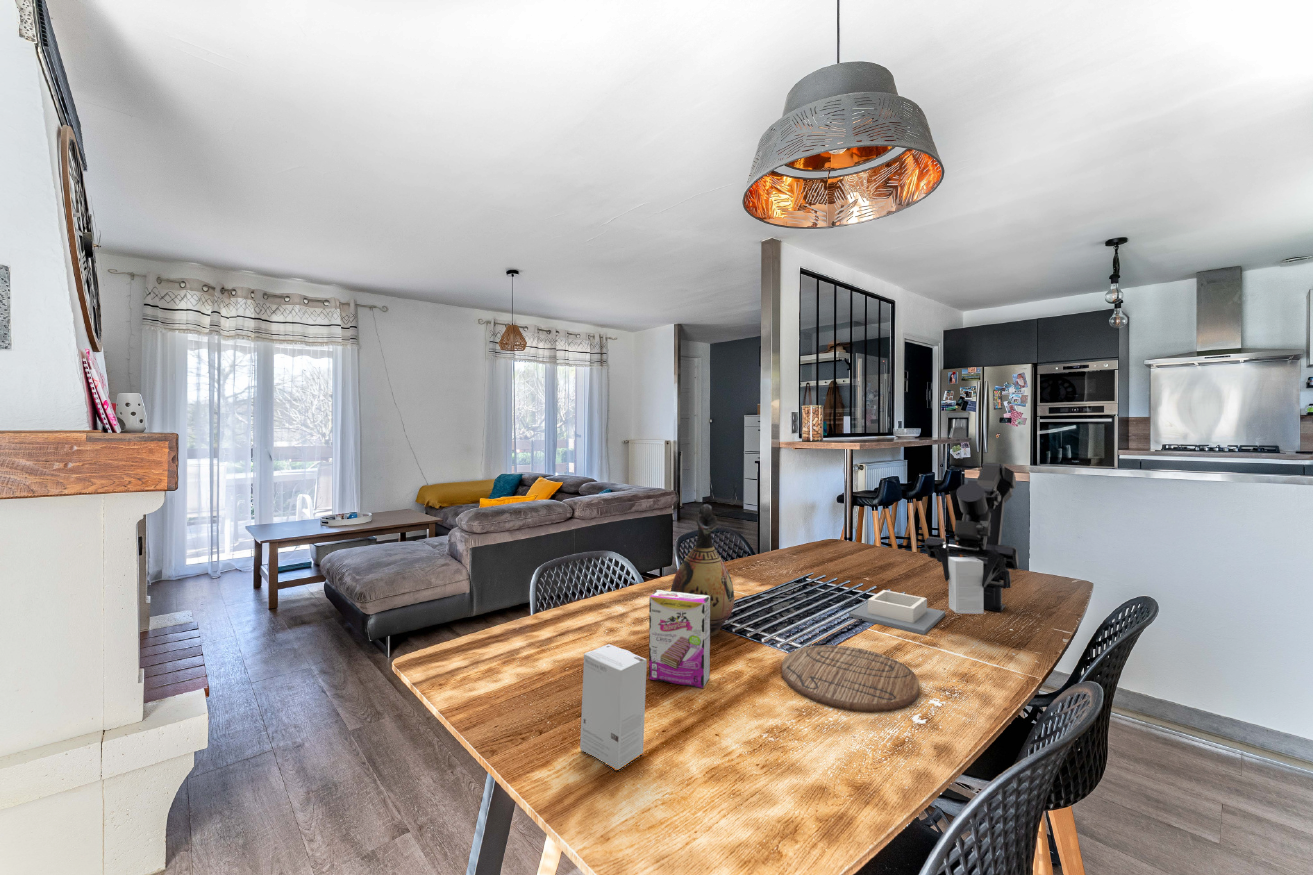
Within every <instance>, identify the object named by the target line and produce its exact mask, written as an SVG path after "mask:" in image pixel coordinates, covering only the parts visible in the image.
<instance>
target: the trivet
mask: <svg viewBox="0 0 1313 875" xmlns="http://www.w3.org/2000/svg"><path fill="white" fill-rule="evenodd" d="M781 673H782V674H781V676H782V680H784V682H785V683H786V684H787V686H788V687H790V688H791V689H792V690H793V691H794V692H796V693H798V695H800V696H802V697H804V698H806V699H809V700H811V701H813V702H815V703H817V704H818V703H819V704H820V705H821V704H822V705H824V706H828V707H829V708H830V707H831V708H835V709H840V710H845V711H850V712H857V711H858V712H859V713H873V714H874V713H884V712H885V713H887V712H889V713H891V712H893V711H898V710H901V709H905V708H907V707H909V706H911V705H913V704H914V703H915V702H916V701H917V699H918V698H919V697H920V683H919V682H920V681H919V678H918V676H917V675H916V674H915V672H914V671H913V670H911V669H910V668H909V667H908V666H907V665H905V664H904V663H903V662H900V661H898V660H896V659H895V658H892V657H890V656H887V655H884V654H882V653H879V652H876V651H872V650H868V649H864V648H859V647H854V646H848V645H847V646H846V645H833V644H826V645H825V644H824V645H812V646H805V647H800V648H798V649H796V650H793V651H791V652H790V653H788V654H787V655H785V656H784V658H783V660H782V662H781Z"/></svg>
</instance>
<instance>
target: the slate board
mask: <svg viewBox="0 0 1313 875" xmlns="http://www.w3.org/2000/svg"><path fill="white" fill-rule="evenodd" d="M848 617H849V618H851V617H853V618H852V619H855V618H856V620H859V619H862V620H861V621H864V622H868V623H873V624H877V625H881V626H885V627H890V628H893V629H898V630H902V631H907V632H911V633H913V634H914V633H916V634H920V635H924V636H925V635H926V634H927V633H928V632H929V631H930V630H931V629H932V628H934V627H935V625H936V624H937V623H939V622H940V621H941V620H942V619H943V618H944V617H946V611H945V610H941V609H940V610H939V609H935V608H931V607H927V612H926V613H925V614H924V615H922V616H921V617H920V618H919V619H917V620H916V621H915V622H914V623H911V622H906V621H902V620H897V619H893V618H889V617H884V616H880V615H875V614H871V613H868V601H867V602H865V603H863V604H861V605H860V606H858V607H857V608H855V609H854V610H852V611H850V612H848Z"/></svg>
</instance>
